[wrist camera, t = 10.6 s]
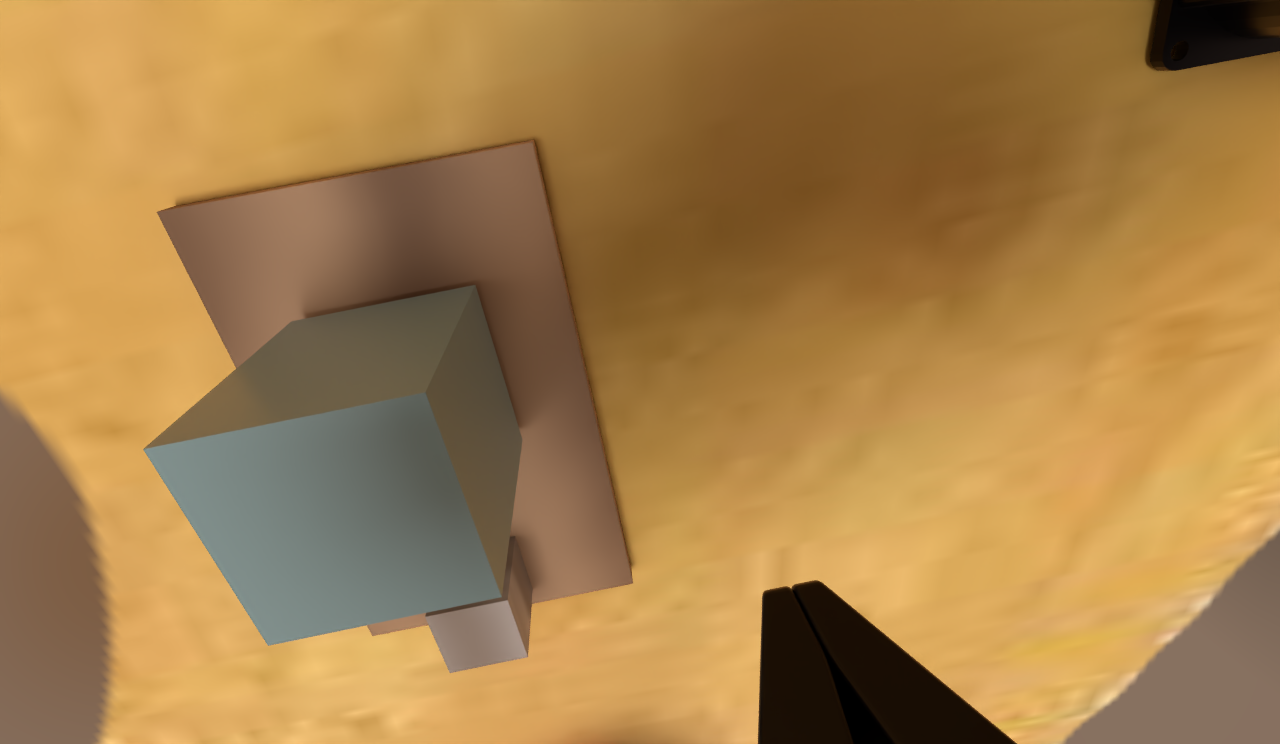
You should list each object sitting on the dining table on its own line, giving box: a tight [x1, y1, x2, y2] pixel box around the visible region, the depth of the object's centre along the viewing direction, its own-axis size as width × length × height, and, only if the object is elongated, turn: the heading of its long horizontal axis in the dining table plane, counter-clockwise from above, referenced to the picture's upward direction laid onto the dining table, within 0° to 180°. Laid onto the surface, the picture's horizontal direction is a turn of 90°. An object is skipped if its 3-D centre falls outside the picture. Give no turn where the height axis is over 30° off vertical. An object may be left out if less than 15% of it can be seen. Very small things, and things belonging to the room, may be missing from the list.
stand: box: [157, 140, 633, 673], centre depth 17 cm, size 10×16×7 cm, turn 9°
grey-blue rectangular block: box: [143, 285, 523, 646], centre depth 15 cm, size 5×5×7 cm
